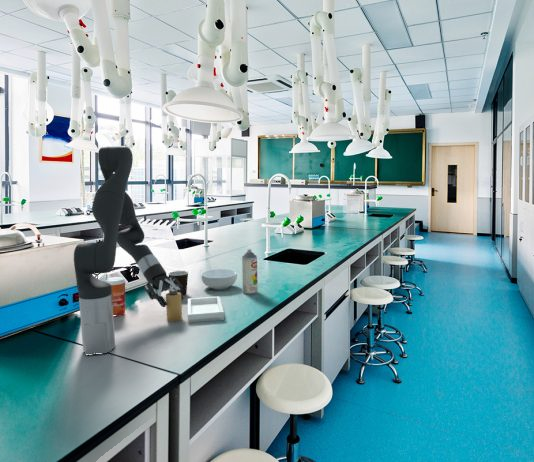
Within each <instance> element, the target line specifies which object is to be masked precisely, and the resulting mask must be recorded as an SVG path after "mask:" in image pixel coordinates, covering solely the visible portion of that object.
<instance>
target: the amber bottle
mask: <svg viewBox="0 0 534 462" xmlns="http://www.w3.org/2000/svg"><path fill="white" fill-rule="evenodd" d="M165 301H166V303H167V305H166V306H165V307H166V321H167V322H171V323H172V322H173V323H174V322H179V321H181V320H183V311H182V310H183V309H182V308H183V307H182V301H181V293H179V292H177V290H175V289H173V290H169V291H168V293H165Z"/></svg>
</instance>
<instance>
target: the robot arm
mask: <svg viewBox="0 0 534 462" xmlns="http://www.w3.org/2000/svg"><path fill="white" fill-rule="evenodd" d="M97 159H98V164H99V169H100V171H101V174H102V176H103V179H104V183H102V184H101V185H100V186H99V188H98V189H97V190H96V191H95V193H94V198H93V202H92V206H91V212H92V214H93V217H94V219H95V221H96V222H97V224H98V226H99V227H100V229H101V231H102V233H103V239H102V240H103V241H102V242H82V243H78V244H77V245H76V246H75V248H74V251H73V263H74V264H73V265H74V273H75V279H76V280H75V281H76V287H77V288H76V289H77V291H78V301H79V314H80V328H81V330H80V331H81V341H82V352H83V351H84V352H85V353H84V352H83V353H84V355H85V354H94V353H95V354H96V353H107V352H108V351H109V352H111V351H113V350H114V349H115V348H116V337H115V334H116V333H115V322H114V316H113V304H112V288H111V285H110V284H109V283H107V282H106V281H103V280H101V279H99V278H96V277H95V276H94V275H93V274H108V273H110V272H111V271H112V270H113V269H114V265H115V262H116V255H117V244H118V245H119V247H121V249H123V251H125V252H126V253H128V255H130V256H131V258H133V260H134V262H135V263H136V265H137V266H138V269H139V270H140V272H141V274H142V275H143V277H144V278H145V279H146V282H147V283H146V284H145V286H144V291H145V292H146V293H147V295H148V297H149V300H152V301H153V300H156V301H157V302H158V303H159V305H160V306H161V307H162V308H165V307H166V305H167V303H166V299H165V298H164V296H163V295H162V293H163V292H166V291H168V292H169V290H173V288H175V289H176V290H177V292H179V293H181V302H182V301H184V299H185V296H184V295H183V294H182V292H181V291H180V289H181V288H182V287H183V286H182V285H181V283H180V282H179V281H178V279H177V278H176V277H175V276H172V277H171V278H168V277H169V276H168V275H167V271H166V270H165V268H164V267H163V266H162V264H161V262H160V261H159V260H158V258H157V257H156V256H155V254H153V252H152V250H151V249H150V247H149V246H148V245H147V244H140V243H142V242H143V241H144V240H145V232H144V230H143V228H142V227H141V224H140V222H139V221H138V218H137V215H136V211H135V205H134V202H133V200H132V198H131V196H130V195H129V194H128V193H127V192H126V190H127V185H128V181H129V178H130V175H131V174H130V173H131V172H132V168H133V162H134V161H133V160H134V158H133V152H132V149H131V148H130V147H128V146H126V145H116V146H115V145H114V146H103V147H102V146H101V147H100V148H99V149H98V153H97ZM120 226H130V227H128V228H125V229H123V230H120V231H119V228H120ZM167 276H168V277H167ZM177 284H178V285H177ZM170 285H171V286H172V287H171V286H170ZM178 286H179V287H178ZM170 287H171V288H170ZM114 347H115V348H114ZM113 348H114V349H113ZM112 349H113V350H112ZM110 350H111V351H110ZM109 352H108V353H109ZM108 353H107V354H108Z"/></svg>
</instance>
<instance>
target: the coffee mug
mask: <svg viewBox="0 0 534 462" xmlns="http://www.w3.org/2000/svg"><path fill="white" fill-rule="evenodd" d="M172 276H175V277H176V278H177V279H178V281H179V282H180V283H181V285H182V286H183V287H182V288H181V289H180V291H181V292H182V294H183V295H184V297H185V296H187V295H188V293H187V291H188V281H189V278H188V277H189V272H188V271H186V270H176V271H175V270H174V271H171V272H170V271H169V272H168V275H167V277H168V278H171V277H172ZM177 285H178V284H177ZM171 287H172V286H171V285H170V288H171ZM178 287H179V286H178ZM173 289H175V288H173ZM175 290H176V289H175Z"/></svg>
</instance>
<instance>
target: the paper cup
mask: <svg viewBox="0 0 534 462" xmlns="http://www.w3.org/2000/svg"><path fill="white" fill-rule="evenodd" d="M105 282H107V283H109V284H110V285H111V288H112V304H113V315H121V316H123V315H122V314H124V313H125V314H126V283H127V280H126V279H125V277H123V276H115V277H109V278H107V279H106V280H105ZM125 314H124V315H125Z"/></svg>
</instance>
